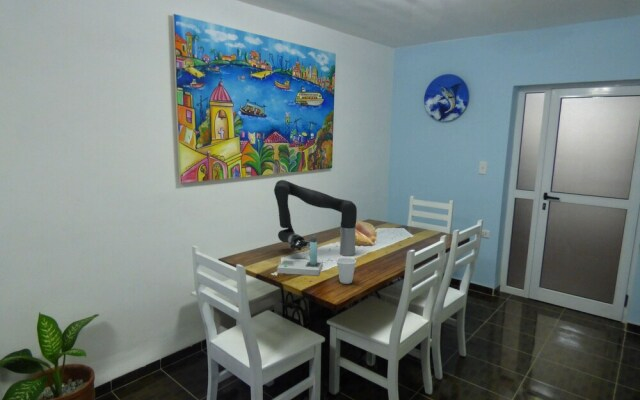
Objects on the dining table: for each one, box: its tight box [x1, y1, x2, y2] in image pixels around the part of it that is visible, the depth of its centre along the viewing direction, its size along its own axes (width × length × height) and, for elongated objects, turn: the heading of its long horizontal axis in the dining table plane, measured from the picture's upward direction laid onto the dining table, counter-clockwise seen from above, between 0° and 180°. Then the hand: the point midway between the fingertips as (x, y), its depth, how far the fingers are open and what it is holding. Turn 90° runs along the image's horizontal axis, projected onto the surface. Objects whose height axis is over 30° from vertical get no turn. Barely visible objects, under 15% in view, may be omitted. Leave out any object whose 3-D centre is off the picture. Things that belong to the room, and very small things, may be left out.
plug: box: [309, 234, 318, 266], centre depth 202 cm, size 4×4×19 cm
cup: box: [336, 257, 357, 285], centre depth 186 cm, size 10×10×11 cm
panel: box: [276, 258, 324, 277], centre depth 205 cm, size 16×22×4 cm
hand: (307, 247), depth 209 cm, fingers open, 8 cm apart
